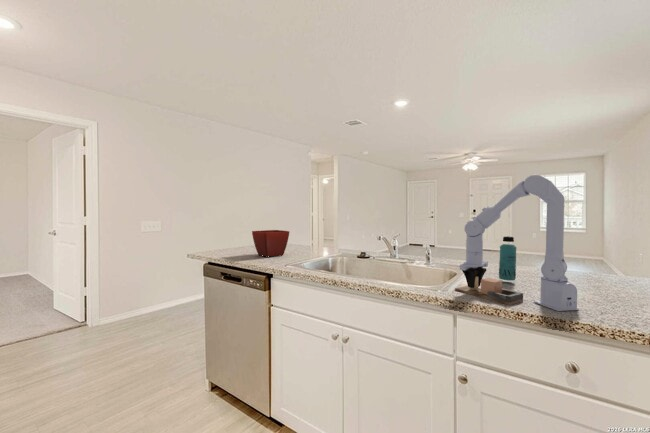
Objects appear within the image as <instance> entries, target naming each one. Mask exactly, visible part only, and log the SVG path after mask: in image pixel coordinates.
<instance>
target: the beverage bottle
mask: <svg viewBox="0 0 650 433" xmlns="http://www.w3.org/2000/svg"><path fill="white" fill-rule="evenodd" d="M514 239H515V238H514V237H513V236H503V238H502V242H507V243H502V244H501V245H500V246H499V262H498V278H499V279H498V280H501V281H515V280H516V279H517V278H516V276H517V274H516V273H517V271H516V270H517V265H516V264H517V246H516V245H515V244H509V243H514V242H515V240H514Z"/></svg>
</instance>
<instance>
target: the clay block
mask: <svg viewBox="0 0 650 433" xmlns="http://www.w3.org/2000/svg"><path fill="white" fill-rule="evenodd" d="M502 288H503V280H502V279H496V278H492V277H487V278H482V279H481V284H480V287H478V276H476V278H475V285H474V288H470V289H471V290H480V291H481V293H483V294H487V295H488V291H492V292H496V293H500V294H502Z"/></svg>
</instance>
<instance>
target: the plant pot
mask: <svg viewBox="0 0 650 433" xmlns="http://www.w3.org/2000/svg"><path fill="white" fill-rule="evenodd" d="M251 233H252V239H253V244H254V248H255V251H256V254H257V256H259V255H263V256H267V257H266V258H269V257H268V256H275V257H280V256H279V255H283V256H284V254H285V251H286V248H287V245H288V240H289V236H290V231H289V230H282V229H281V230H279V229H269V230H252V231H251ZM263 256H262V257H263Z"/></svg>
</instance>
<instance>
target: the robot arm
mask: <svg viewBox="0 0 650 433" xmlns="http://www.w3.org/2000/svg"><path fill="white" fill-rule="evenodd" d="M531 195H534V196H537V197H538V198H539V199H541V200H542V201H543V202H545V203H546V222H545V223H546V227H545V231H546V234H545V254H544V261H543V264H542V265H541V268H540V272H541V274H542V275H541V276H540V297H539V299H540V300H533V303H535V304H538V305H540V306H543V307H545V308H549V309H550V310H553V311H554V310H555V311H557V312H564V311H565V312H566V311H579V310H580V308H579V307H578V289H577V286H575V285H574V284H573V283H570V282H569V278H568V277H567V276H566V272H567V271H568V265H567V262H566V261H565V258H564V257H565V254H564V235H565V234H564V230H565V225H564V224H565V196H564V194H563V193H562V192H561V191H560V190H559V189H558V187H557V186H556V185H555V184H554V183H553V181H552V180H549V179H548V178H546V177H544V176H542V175H540V174H531V175H529V176H527V177H526V178H525V179H524V180H522V181H521V182H519V183H518V184H517V185H515V186H514V187H513V188H512V189H510V191H509V192H507V194H505V195H504V196H503V197H502V198H501V199H500V200H499V201H498V202H497V203H495V205H492V206H491V205H490V206H487V207H483V208H482V209H481V212H480V213H479V214H478V215H476V216H474V217H472V220H470V221H467V222H466V224H465V225H464V232H465V234H466V242H465V243H466V244H465V248H466V249H465V251H466V252H465V253H466V254H465V261H463V263H461V264H459V271H461V272H462V273H463V275H464V277H465V280H466V284H467V286H468V287H470V288H474V285H475V278H476V276H478V288H481V279H483V276H484V275H485V273H486V272H487V267H489V262H488V261H484V260H483V254H484V252H483V250H484V248H483V247H484V246H483V245H484V244H483V243H484V240H483V235H484V233H485V230H486V229H488V228H489V227H491V226H492V225H493V224H495V222H497V221H498V220H499V219H500V218H501V213H502V212H503V211H505V209H507V208H508V207H510V206H511V205H512V204H513V203H515V202H516V201H517V200H518V199H520V198H523V197H528V196H531Z"/></svg>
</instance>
